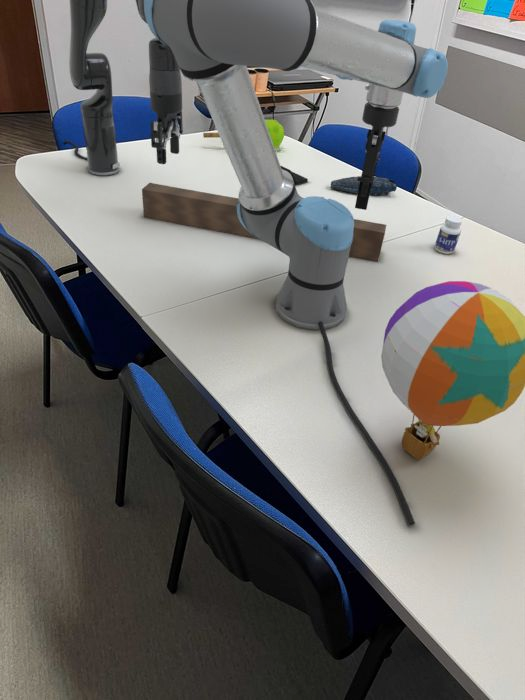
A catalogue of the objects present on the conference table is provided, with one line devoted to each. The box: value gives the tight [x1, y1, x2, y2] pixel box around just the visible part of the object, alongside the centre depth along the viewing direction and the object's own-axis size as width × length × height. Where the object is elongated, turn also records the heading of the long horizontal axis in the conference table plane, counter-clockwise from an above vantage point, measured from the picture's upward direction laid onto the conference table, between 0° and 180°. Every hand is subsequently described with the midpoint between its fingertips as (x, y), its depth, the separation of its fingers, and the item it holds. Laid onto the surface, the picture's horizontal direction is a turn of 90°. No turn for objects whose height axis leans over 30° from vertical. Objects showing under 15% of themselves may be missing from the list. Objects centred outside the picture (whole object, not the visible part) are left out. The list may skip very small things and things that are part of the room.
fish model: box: [330, 175, 398, 196], centre depth 167 cm, size 7×21×5 cm, turn 84°
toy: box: [380, 280, 525, 461], centre depth 74 cm, size 20×20×30 cm
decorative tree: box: [202, 119, 285, 150], centre depth 190 cm, size 18×10×30 cm
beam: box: [141, 182, 387, 262], centre depth 137 cm, size 64×5×8 cm, turn 75°
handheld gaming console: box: [280, 165, 309, 186], centre depth 171 cm, size 12×7×10 cm
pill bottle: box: [434, 215, 463, 255], centre depth 137 cm, size 5×5×9 cm
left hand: (168, 158), depth 133 cm, fingers open, 8 cm apart
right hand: (363, 197), depth 126 cm, fingers open, 13 cm apart
